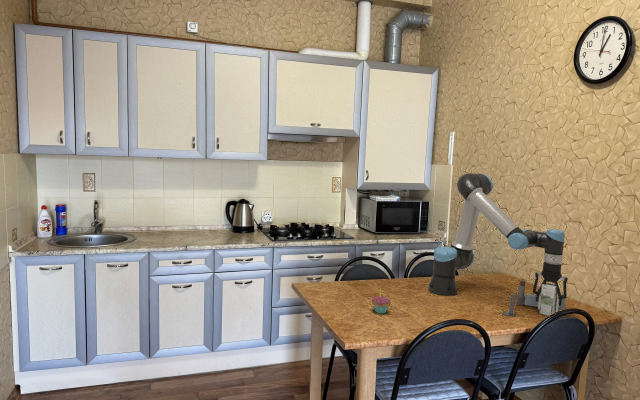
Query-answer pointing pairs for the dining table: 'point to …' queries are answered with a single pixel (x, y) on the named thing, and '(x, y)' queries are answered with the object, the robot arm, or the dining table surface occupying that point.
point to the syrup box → (548, 299)
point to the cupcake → (381, 303)
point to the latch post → (511, 310)
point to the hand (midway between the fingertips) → (547, 310)
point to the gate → (532, 299)
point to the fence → (522, 283)
